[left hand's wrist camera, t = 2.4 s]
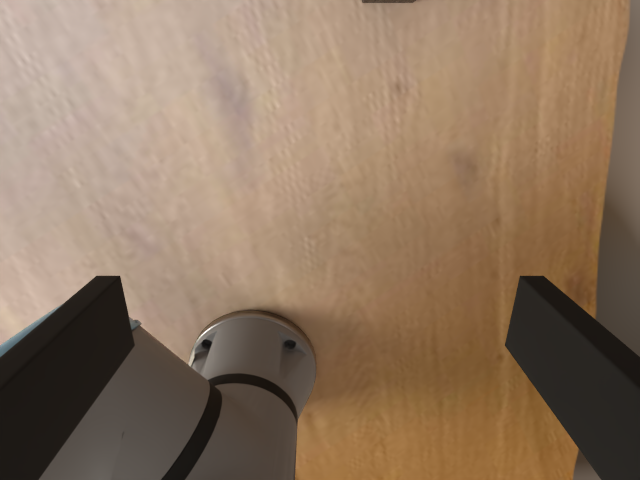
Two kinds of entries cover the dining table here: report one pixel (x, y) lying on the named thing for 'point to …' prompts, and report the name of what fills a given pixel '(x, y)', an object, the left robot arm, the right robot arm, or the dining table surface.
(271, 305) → the dining table surface
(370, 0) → the bar
